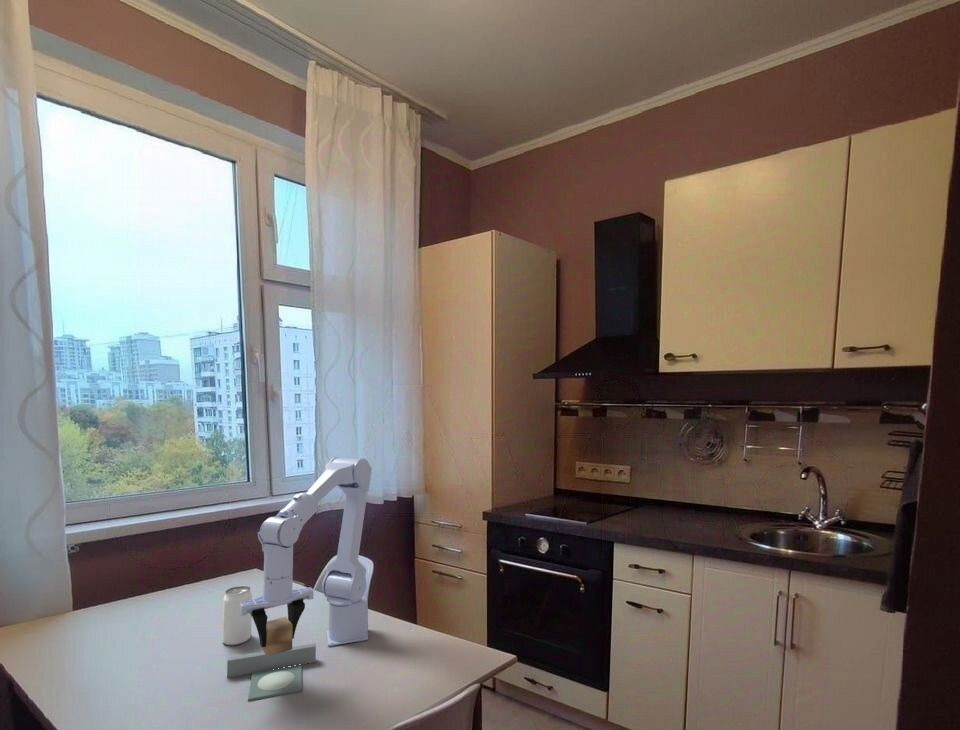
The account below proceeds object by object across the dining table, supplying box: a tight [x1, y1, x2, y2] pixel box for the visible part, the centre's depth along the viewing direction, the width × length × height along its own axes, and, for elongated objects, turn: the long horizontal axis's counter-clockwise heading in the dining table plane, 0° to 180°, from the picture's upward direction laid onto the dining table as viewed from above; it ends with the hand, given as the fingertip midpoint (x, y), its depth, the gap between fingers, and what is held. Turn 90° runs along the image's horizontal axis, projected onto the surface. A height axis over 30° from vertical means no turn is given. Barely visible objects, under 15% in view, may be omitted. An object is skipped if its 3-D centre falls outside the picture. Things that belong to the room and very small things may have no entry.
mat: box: [247, 665, 303, 702], centre depth 106 cm, size 10×10×1 cm
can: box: [221, 585, 253, 646], centre depth 125 cm, size 6×6×12 cm
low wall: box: [226, 643, 317, 679], centre depth 112 cm, size 18×2×4 cm, turn 110°
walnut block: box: [260, 616, 293, 657], centre depth 106 cm, size 5×5×5 cm
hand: (277, 641), depth 106 cm, fingers closed on walnut block, 5 cm apart
